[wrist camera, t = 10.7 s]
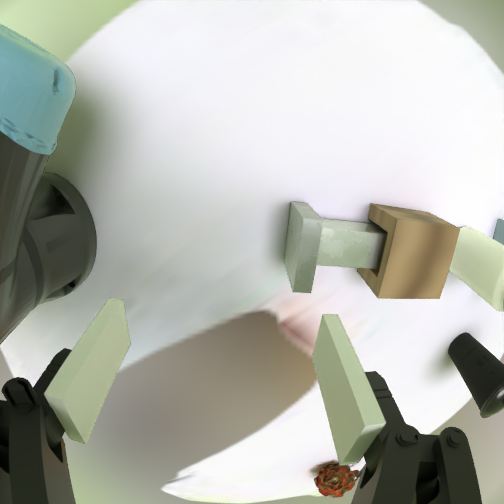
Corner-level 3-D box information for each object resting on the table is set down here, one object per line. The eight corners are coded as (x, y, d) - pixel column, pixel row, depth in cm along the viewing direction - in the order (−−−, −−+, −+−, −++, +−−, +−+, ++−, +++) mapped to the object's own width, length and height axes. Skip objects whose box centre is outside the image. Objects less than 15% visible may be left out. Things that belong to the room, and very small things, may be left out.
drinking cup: (480, 339, 38) (541, 415, 19) (448, 369, 39) (501, 452, 21) (470, 316, 35) (544, 399, 17) (436, 349, 37) (498, 442, 19)
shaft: (283, 261, 31) (292, 292, 25) (291, 201, 29) (303, 218, 23) (422, 270, 32) (451, 295, 26) (435, 220, 30) (468, 238, 23)
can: (444, 229, 30) (508, 269, 19) (478, 222, 30) (541, 256, 19) (440, 276, 33) (494, 325, 21) (474, 266, 32) (528, 309, 21)
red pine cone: (320, 453, 49) (344, 459, 54) (297, 484, 46) (324, 487, 51) (350, 470, 42) (371, 474, 47) (325, 503, 39) (350, 503, 44)
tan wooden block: (357, 271, 32) (377, 298, 26) (370, 203, 29) (397, 218, 23) (413, 274, 32) (439, 298, 27) (429, 212, 30) (460, 228, 24)
